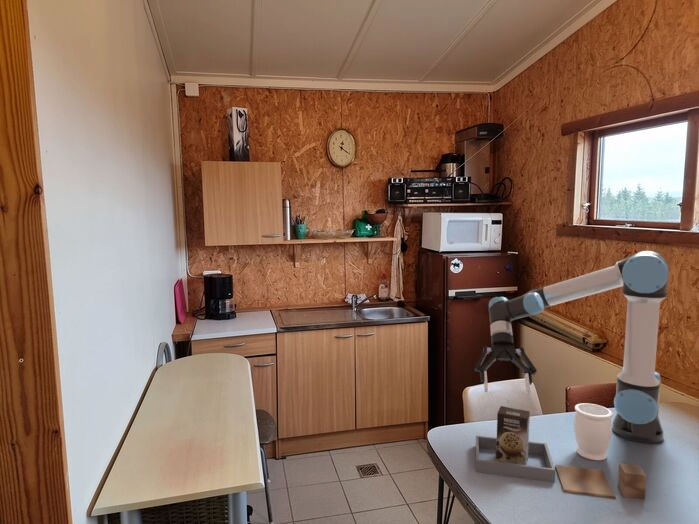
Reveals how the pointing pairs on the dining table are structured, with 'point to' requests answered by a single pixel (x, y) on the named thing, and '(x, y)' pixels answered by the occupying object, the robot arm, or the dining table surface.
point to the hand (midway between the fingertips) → (507, 392)
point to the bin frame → (515, 469)
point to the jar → (592, 430)
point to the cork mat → (584, 481)
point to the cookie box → (512, 435)
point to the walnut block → (632, 481)
